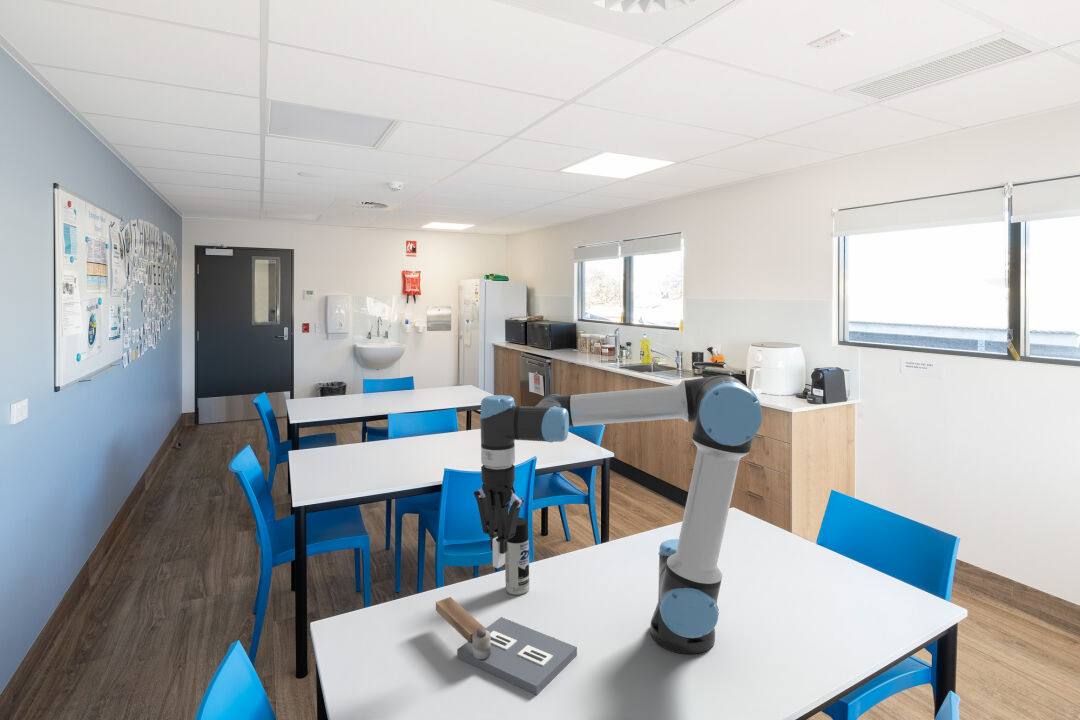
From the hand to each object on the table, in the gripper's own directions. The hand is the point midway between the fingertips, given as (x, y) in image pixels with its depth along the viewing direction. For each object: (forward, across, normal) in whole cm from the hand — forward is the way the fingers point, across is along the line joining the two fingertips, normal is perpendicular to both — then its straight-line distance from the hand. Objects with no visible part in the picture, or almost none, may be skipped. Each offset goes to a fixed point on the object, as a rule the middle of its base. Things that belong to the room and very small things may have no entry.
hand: (499, 565), depth 131 cm
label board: (+20, +5, 0) cm, 21 cm away
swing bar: (+18, -8, -4) cm, 20 cm away
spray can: (+21, -13, +24) cm, 34 cm away
